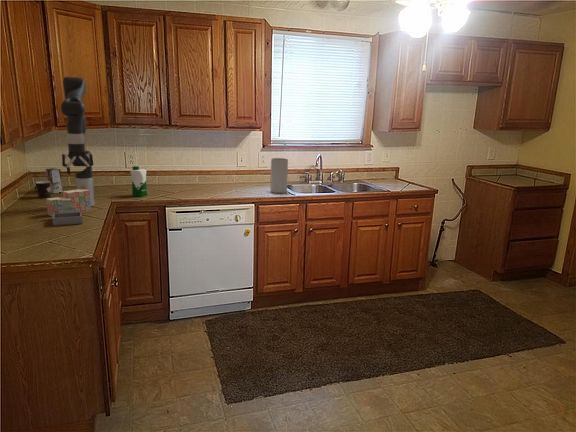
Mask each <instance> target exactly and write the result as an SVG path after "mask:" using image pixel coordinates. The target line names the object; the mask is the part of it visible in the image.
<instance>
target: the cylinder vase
mask: <svg viewBox="0 0 576 432" xmlns="http://www.w3.org/2000/svg"><path fill="white" fill-rule="evenodd" d="M288 163H289V159H288V158H283V157H282V158H281V157H273V158H271V161H270V192H271V193H272V192H273V193H274V194H285V193H287V191H288V173H289V172H288V169H289V167H288V166H289V164H288Z"/></svg>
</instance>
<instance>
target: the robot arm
mask: <svg viewBox="0 0 576 432" xmlns="http://www.w3.org/2000/svg"><path fill="white" fill-rule="evenodd" d="M86 83H87V82H86V80H85V79H84V78H82V77H77V76H76V77H73V76H65V77H64V78H63V79H62V86H63V93H64V98H65V99H64V100H63V101H62V103H61V105H60V110H61V114H63V115H64V116H67V118H66V119H67V122H66V131H67V146H68V147H67V148H68V153H67V154H65V153H62V154H61V161H62V162H61V163H62V167H64V168H66V173H67V174H68V175H69V176H71V168H70V166H71V165H72V166H73V167H85V168H84V169H83V170H79V171H78V172H75V184H76V186H75V187H76V190H78V189H79V190H81V189H86V190H89V193H90V206H91V207H94V206H95V191H94V189H95V188H94V179H93V178H94V177H93V167H92V166H94V159H93V154H92V152H91V151H90V150H86V147H85V146H86V145H85V134H86V131H87V122H86V120H87V119H86V117H85V112H86V107H85V104H84V103H83V98H84V97H85V95H86V92H87V84H86ZM67 158H68V159H69V161H68V162H67V163H66V159H67Z"/></svg>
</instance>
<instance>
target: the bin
mask: <svg viewBox="0 0 576 432" xmlns="http://www.w3.org/2000/svg"><path fill="white" fill-rule="evenodd" d="M82 213H83V212H71V213H56V214H53V217H51V218H52V220H51V221H52V226H53V227H57V226H58V227H59V226H71V225H73V226H75V225H83V215H82Z"/></svg>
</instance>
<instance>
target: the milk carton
mask: <svg viewBox="0 0 576 432" xmlns="http://www.w3.org/2000/svg"><path fill="white" fill-rule="evenodd" d="M129 171H130V175H131V188H132V190H131V194H132V195H131V196H132V197H137V198H143V197H146V196H148V191H147V171H148V170H147V169H143V168H140V167H139V166H135V165H134V166H132V169H130V170H129Z"/></svg>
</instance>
